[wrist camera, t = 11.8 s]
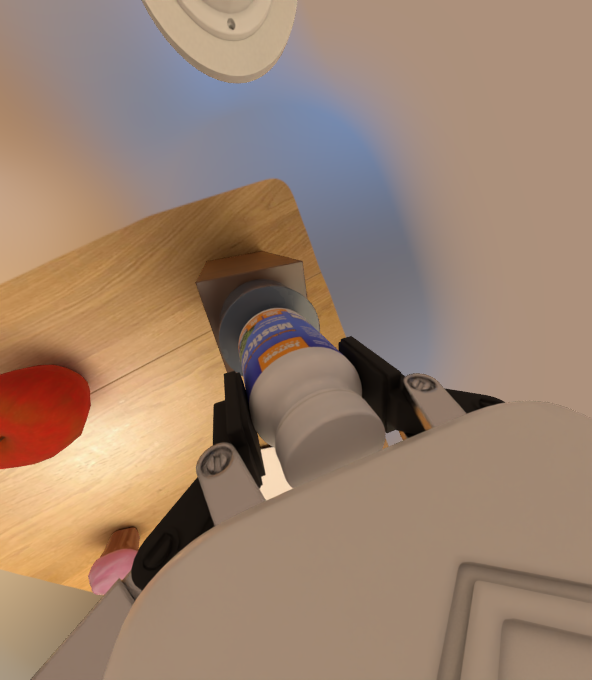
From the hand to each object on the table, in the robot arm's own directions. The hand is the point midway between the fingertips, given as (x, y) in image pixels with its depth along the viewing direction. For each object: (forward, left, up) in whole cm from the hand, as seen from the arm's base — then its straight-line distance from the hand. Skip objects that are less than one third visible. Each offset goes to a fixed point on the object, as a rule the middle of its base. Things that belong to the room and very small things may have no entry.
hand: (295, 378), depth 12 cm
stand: (0, 0, -30) cm, 30 cm away
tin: (0, 0, -10) cm, 10 cm away
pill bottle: (0, 0, -5) cm, 5 cm away
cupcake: (+50, -40, -30) cm, 71 cm away
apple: (+9, -31, -30) cm, 44 cm away
